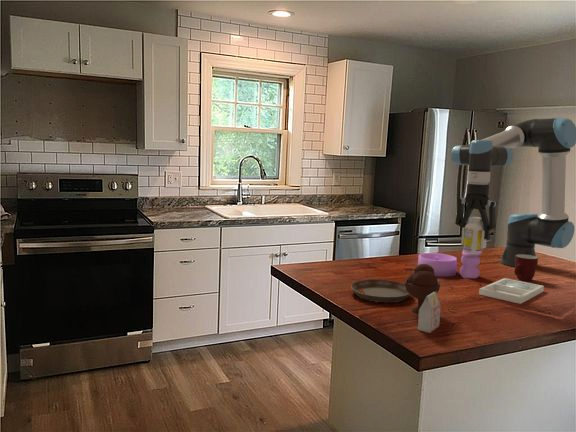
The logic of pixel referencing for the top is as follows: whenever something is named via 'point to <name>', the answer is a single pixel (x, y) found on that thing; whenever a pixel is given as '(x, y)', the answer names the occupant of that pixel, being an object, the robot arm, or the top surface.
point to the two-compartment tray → (511, 291)
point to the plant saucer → (380, 290)
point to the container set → (451, 264)
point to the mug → (525, 266)
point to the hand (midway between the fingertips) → (473, 246)
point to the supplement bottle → (473, 236)
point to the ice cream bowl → (421, 284)
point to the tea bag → (429, 314)
